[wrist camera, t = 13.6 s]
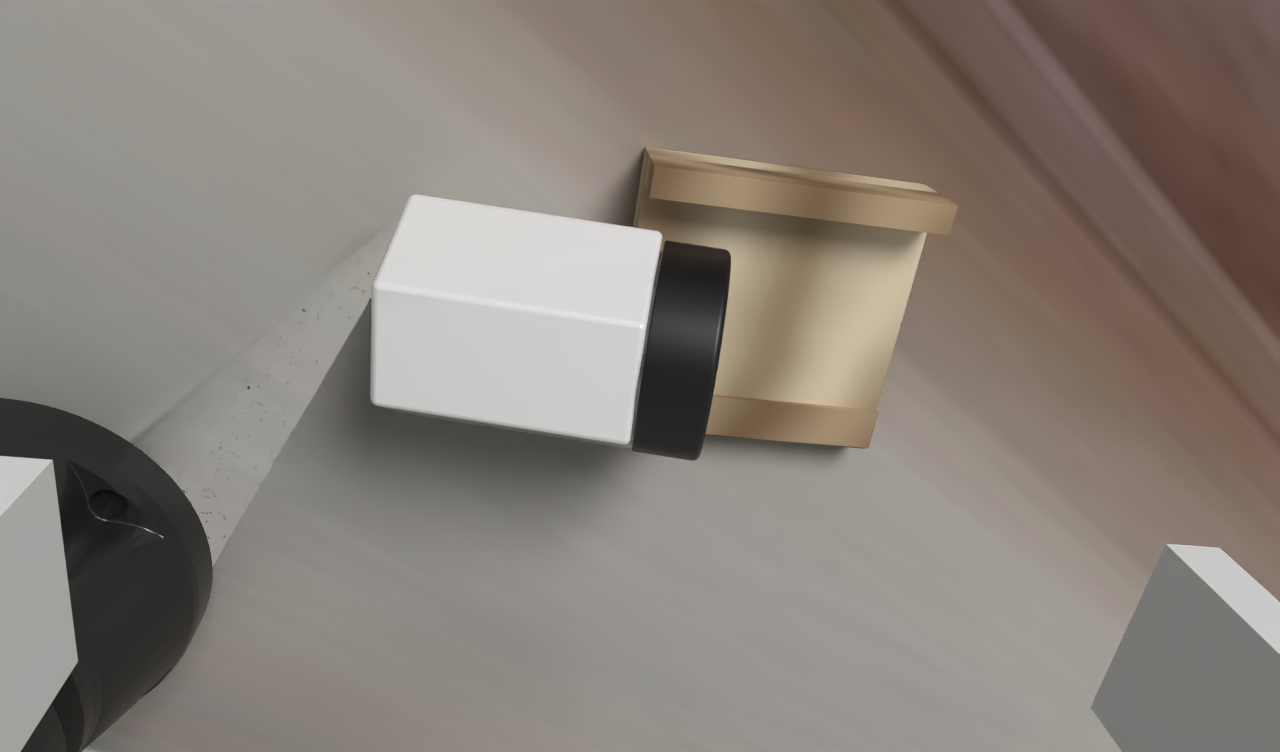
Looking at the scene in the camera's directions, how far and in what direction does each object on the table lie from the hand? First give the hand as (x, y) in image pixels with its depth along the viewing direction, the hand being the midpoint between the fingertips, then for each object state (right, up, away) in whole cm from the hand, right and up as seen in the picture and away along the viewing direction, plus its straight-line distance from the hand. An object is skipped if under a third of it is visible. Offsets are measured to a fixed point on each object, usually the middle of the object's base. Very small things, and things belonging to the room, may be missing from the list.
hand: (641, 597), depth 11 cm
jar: (-9, +5, +24) cm, 26 cm away
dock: (+5, +6, +30) cm, 31 cm away
